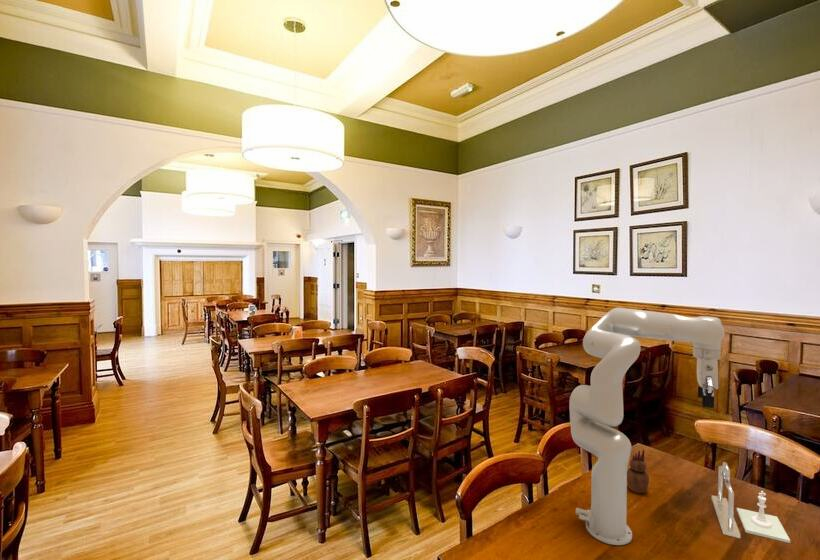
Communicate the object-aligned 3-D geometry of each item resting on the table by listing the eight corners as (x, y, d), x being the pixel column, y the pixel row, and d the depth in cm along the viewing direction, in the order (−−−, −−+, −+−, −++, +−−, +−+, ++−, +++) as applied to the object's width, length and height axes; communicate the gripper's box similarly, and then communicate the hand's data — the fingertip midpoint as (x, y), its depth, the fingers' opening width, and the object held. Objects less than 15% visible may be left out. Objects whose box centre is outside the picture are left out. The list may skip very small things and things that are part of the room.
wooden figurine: (648, 489, 143) (649, 448, 143) (648, 497, 138) (648, 455, 138) (627, 484, 147) (627, 443, 146) (626, 491, 142) (626, 450, 141)
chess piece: (776, 529, 120) (777, 496, 120) (757, 527, 121) (758, 495, 121) (765, 518, 125) (766, 487, 125) (746, 517, 126) (747, 486, 126)
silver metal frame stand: (723, 534, 120) (724, 479, 119) (711, 498, 137) (712, 450, 137) (740, 538, 118) (741, 482, 117) (726, 501, 136) (727, 452, 135)
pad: (745, 532, 121) (745, 529, 120) (736, 510, 131) (736, 507, 131) (790, 543, 116) (790, 540, 116) (777, 519, 126) (777, 516, 126)
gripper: (725, 360, 128) (724, 413, 129) (715, 348, 143) (714, 396, 144) (696, 357, 132) (695, 409, 133) (690, 346, 147) (689, 393, 148)
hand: (705, 402), depth 138 cm, fingers open, 9 cm apart
